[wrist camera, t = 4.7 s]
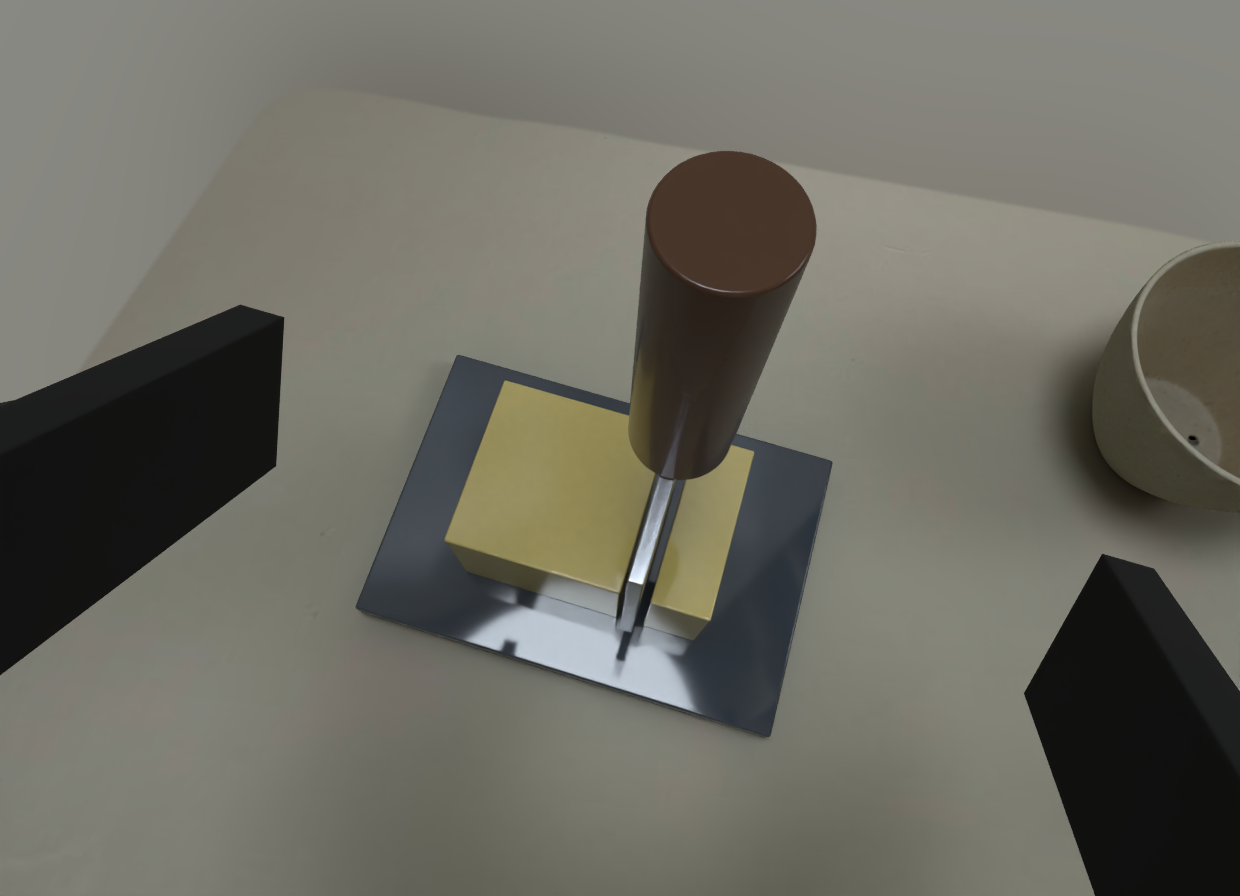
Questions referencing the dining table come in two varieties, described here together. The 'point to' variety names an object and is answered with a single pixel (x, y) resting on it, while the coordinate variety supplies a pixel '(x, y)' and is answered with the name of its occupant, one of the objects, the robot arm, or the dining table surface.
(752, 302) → the knife
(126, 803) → the dining table surface
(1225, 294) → the flower pot
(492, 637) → the butter dish
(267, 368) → the robot arm
